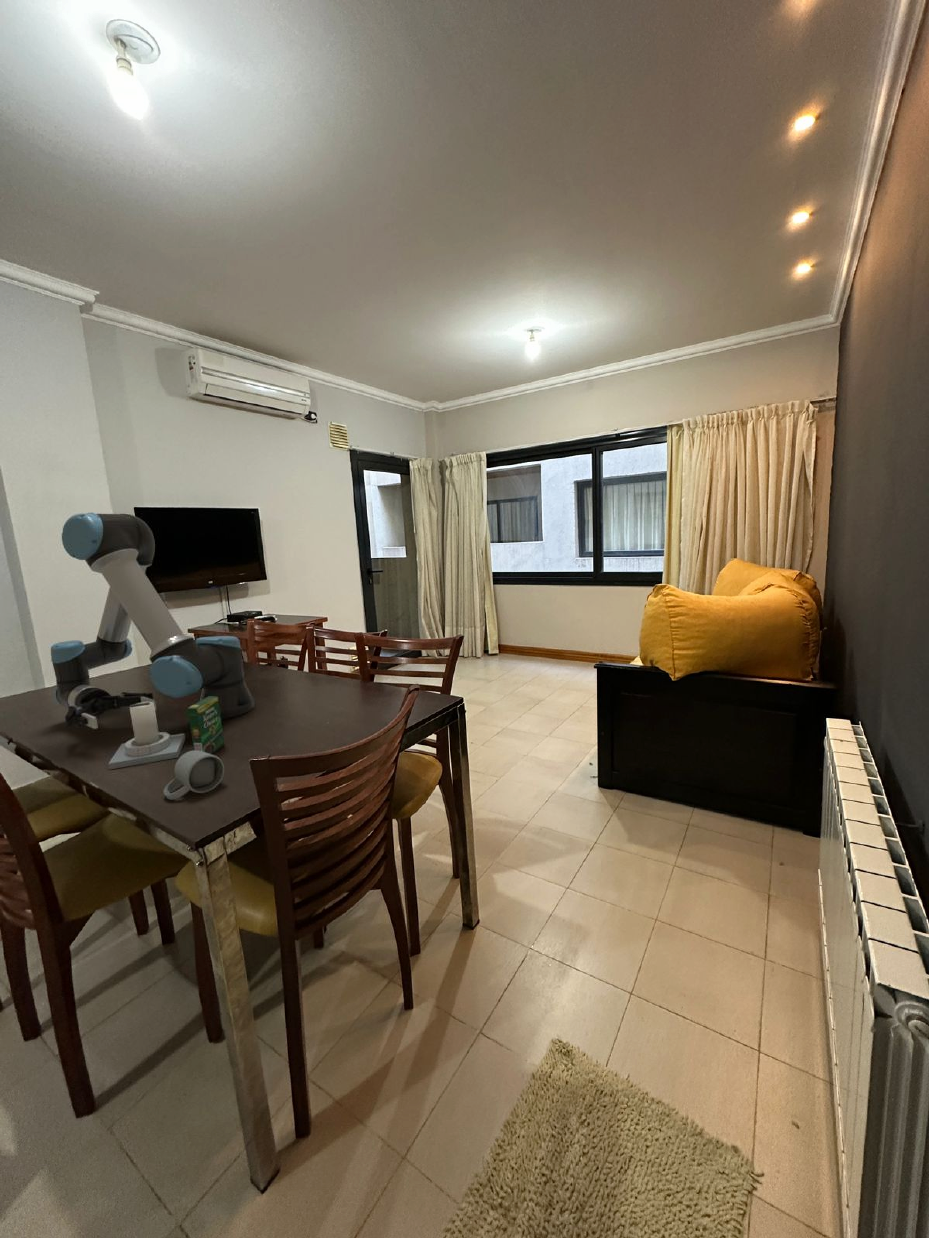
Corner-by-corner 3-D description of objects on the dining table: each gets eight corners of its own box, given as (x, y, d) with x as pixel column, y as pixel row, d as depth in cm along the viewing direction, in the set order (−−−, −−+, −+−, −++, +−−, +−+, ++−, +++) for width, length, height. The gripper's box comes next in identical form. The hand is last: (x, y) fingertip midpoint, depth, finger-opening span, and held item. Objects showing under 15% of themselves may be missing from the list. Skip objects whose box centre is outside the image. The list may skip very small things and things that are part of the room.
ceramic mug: (208, 773, 111) (203, 741, 109) (227, 783, 106) (222, 750, 104) (157, 795, 102) (151, 761, 101) (175, 807, 98) (169, 771, 96)
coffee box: (204, 759, 118) (197, 707, 115) (193, 759, 118) (186, 707, 116) (225, 744, 125) (219, 695, 123) (215, 744, 126) (208, 695, 123)
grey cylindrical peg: (162, 741, 125) (155, 698, 123) (158, 749, 120) (151, 705, 118) (139, 745, 123) (132, 702, 121) (134, 753, 119) (127, 708, 117)
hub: (185, 738, 130) (183, 726, 130) (178, 757, 119) (176, 743, 119) (122, 748, 125) (120, 736, 124) (109, 769, 114) (106, 755, 113)
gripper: (140, 699, 148) (178, 711, 137) (36, 729, 128) (70, 746, 116) (137, 675, 147) (174, 685, 135) (31, 701, 126) (64, 716, 115)
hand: (126, 713), depth 126 cm, fingers open, 13 cm apart
